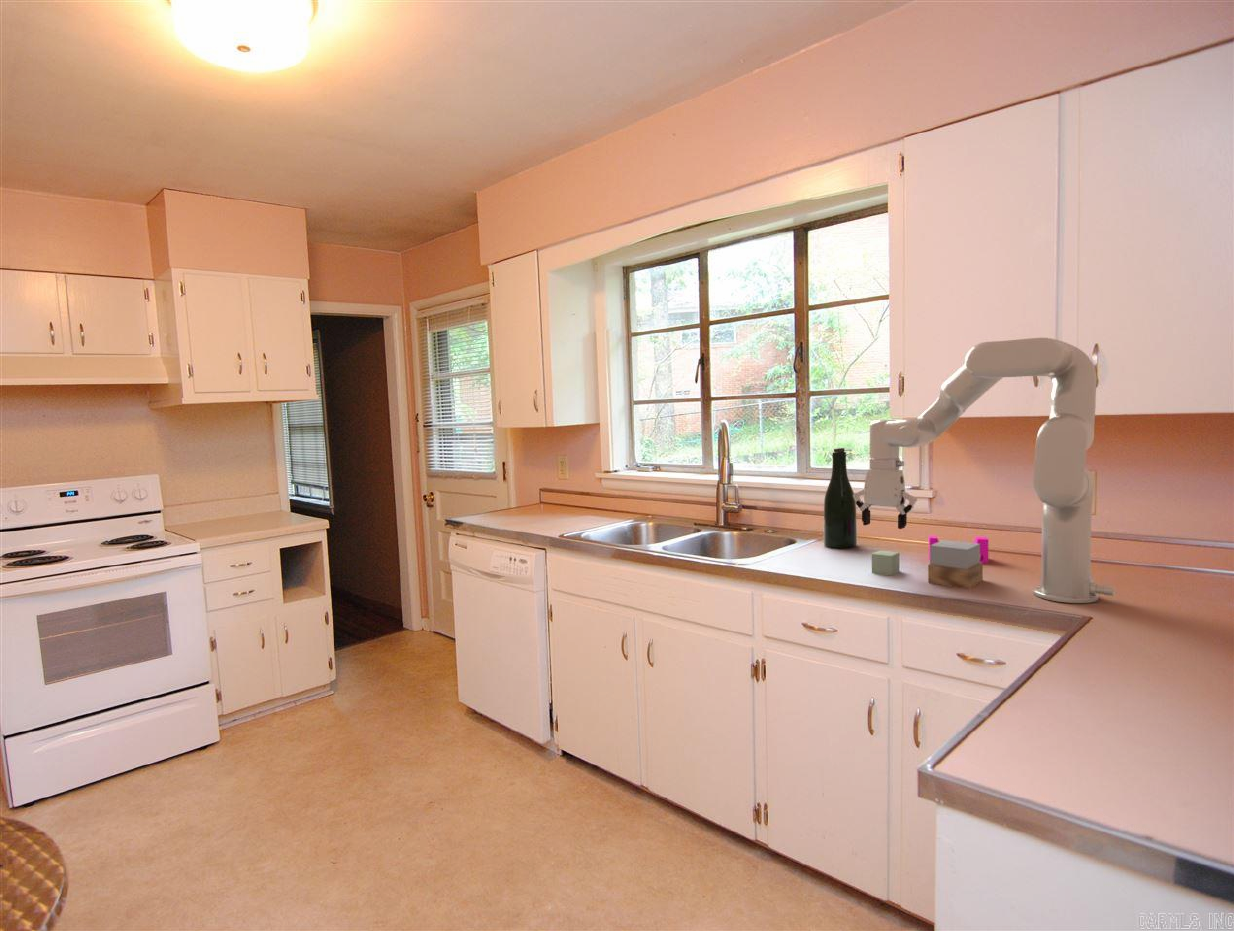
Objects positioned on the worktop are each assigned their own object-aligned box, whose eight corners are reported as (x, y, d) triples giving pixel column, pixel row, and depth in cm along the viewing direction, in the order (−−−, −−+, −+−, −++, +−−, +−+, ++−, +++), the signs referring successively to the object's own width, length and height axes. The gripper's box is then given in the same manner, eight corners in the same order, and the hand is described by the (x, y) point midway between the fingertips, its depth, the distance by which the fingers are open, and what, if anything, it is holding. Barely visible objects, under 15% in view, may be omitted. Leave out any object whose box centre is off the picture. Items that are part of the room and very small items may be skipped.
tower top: (979, 562, 172) (979, 543, 172) (967, 569, 166) (967, 549, 165) (943, 558, 178) (943, 540, 178) (930, 564, 172) (930, 545, 172)
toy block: (984, 560, 195) (984, 535, 194) (988, 565, 189) (988, 539, 188) (928, 559, 200) (927, 534, 199) (930, 563, 194) (930, 538, 193)
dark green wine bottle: (824, 544, 227) (822, 447, 224) (857, 544, 223) (855, 446, 221) (823, 550, 217) (821, 449, 214) (857, 551, 213) (856, 448, 211)
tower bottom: (982, 581, 172) (982, 562, 172) (970, 590, 165) (970, 570, 165) (941, 576, 179) (941, 558, 179) (928, 584, 172) (928, 565, 172)
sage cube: (899, 572, 185) (899, 552, 184) (891, 576, 181) (891, 556, 180) (879, 569, 189) (879, 550, 188) (871, 573, 185) (871, 553, 184)
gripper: (921, 465, 179) (921, 527, 181) (859, 462, 191) (859, 521, 193) (911, 467, 174) (910, 531, 175) (847, 464, 186) (847, 525, 187)
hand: (883, 526), depth 184 cm, fingers open, 9 cm apart
